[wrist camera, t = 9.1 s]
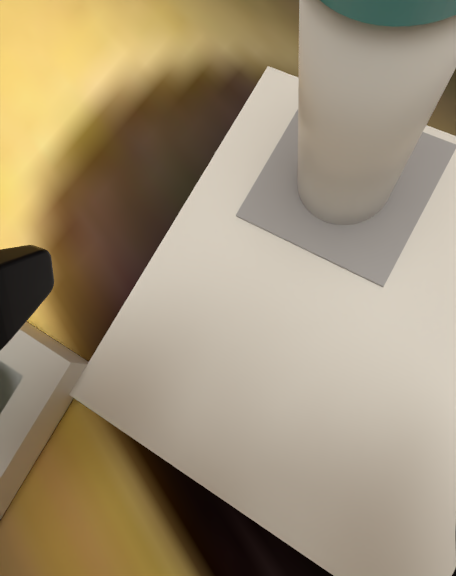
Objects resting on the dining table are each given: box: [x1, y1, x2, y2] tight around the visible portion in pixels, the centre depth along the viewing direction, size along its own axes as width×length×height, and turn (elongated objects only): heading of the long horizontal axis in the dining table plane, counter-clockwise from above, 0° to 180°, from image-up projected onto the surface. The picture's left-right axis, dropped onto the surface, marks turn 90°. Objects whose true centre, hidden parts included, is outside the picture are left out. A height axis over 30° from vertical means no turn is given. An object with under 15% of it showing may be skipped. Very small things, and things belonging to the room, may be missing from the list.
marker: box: [297, 0, 456, 225], centre depth 12 cm, size 4×4×13 cm
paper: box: [69, 66, 456, 576], centre depth 18 cm, size 18×16×1 cm
